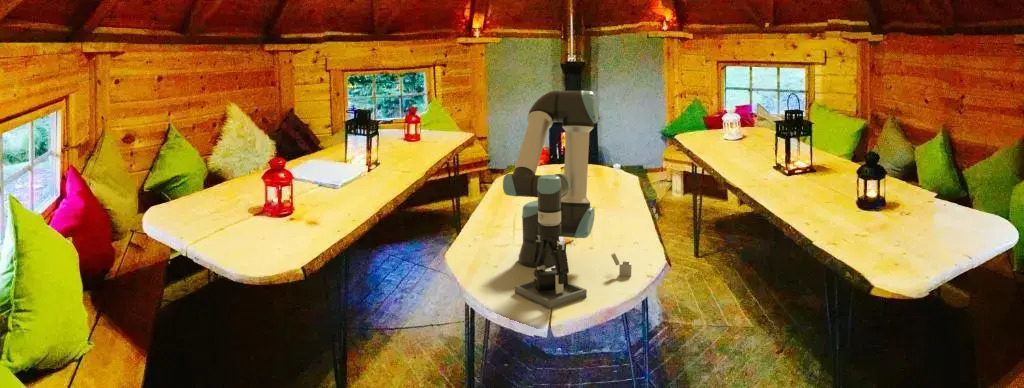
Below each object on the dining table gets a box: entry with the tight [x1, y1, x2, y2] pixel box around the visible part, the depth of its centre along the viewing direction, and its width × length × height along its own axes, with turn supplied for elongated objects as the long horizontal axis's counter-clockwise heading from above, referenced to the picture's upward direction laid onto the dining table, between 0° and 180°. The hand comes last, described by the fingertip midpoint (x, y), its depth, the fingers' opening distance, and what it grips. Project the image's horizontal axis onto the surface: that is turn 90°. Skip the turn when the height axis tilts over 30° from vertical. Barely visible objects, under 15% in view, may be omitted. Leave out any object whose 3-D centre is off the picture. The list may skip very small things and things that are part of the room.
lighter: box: [610, 252, 632, 277], centre depth 253 cm, size 7×2×8 cm, turn 83°
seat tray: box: [514, 280, 588, 310], centre depth 236 cm, size 18×16×3 cm
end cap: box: [533, 267, 569, 292], centre depth 235 cm, size 10×7×7 cm
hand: (550, 288), depth 236 cm, fingers closed on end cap, 9 cm apart
